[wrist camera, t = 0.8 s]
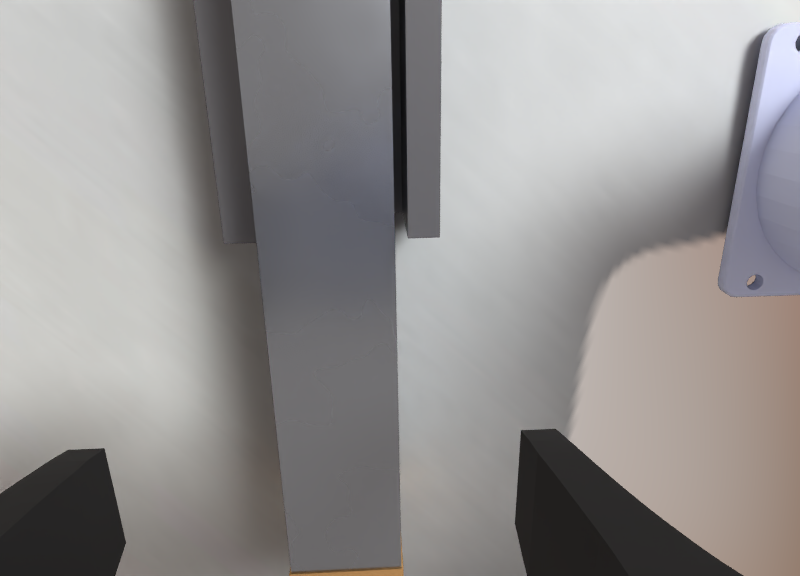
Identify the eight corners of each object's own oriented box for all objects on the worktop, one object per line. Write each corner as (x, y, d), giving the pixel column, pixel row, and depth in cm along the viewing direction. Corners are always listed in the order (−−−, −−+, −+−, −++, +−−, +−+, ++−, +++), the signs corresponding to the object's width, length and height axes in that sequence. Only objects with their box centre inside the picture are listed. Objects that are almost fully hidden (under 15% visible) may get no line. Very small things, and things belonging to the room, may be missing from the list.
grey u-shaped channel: (428, -122, 15) (443, -170, 12) (428, 208, 18) (439, 237, 15) (212, -121, 15) (172, -168, 12) (248, 213, 18) (223, 243, 15)
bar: (383, -105, 15) (389, -177, 10) (396, 491, 21) (403, 602, 17) (256, -104, 14) (208, -176, 10) (308, 495, 21) (292, 607, 16)
